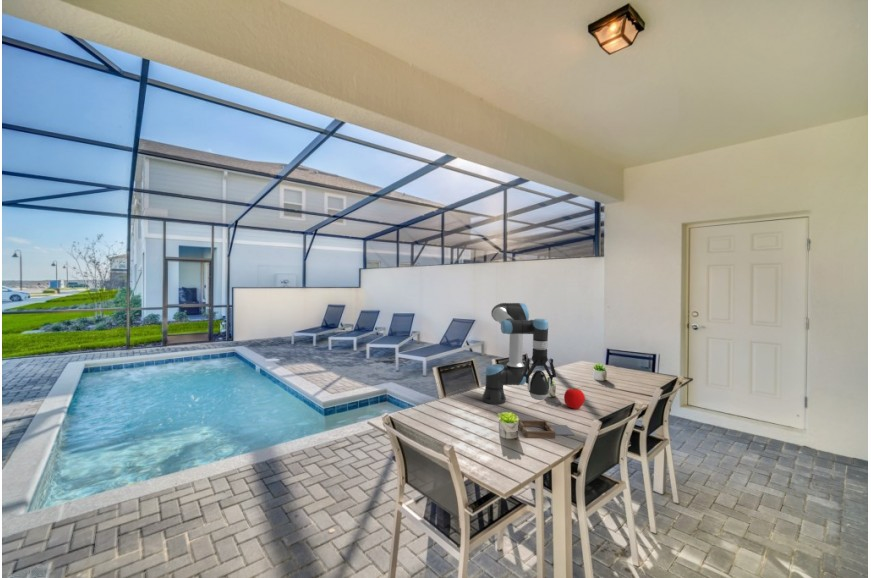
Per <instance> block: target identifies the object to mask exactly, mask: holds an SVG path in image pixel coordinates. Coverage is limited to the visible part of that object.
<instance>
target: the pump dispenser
mask: <svg viewBox="0 0 871 578" xmlns="http://www.w3.org/2000/svg"><path fill="white" fill-rule="evenodd" d="M549 392H550V391H549V388H548V378H547V376H546V374H545V372H544V371H542V370H539V369H538V370H536V371H533V374H532V377H530V390H528V393H529V395H530V397H531V398H532V399H534V400H536V401H543V400H546V399H547V398H548V395H549Z"/></svg>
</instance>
